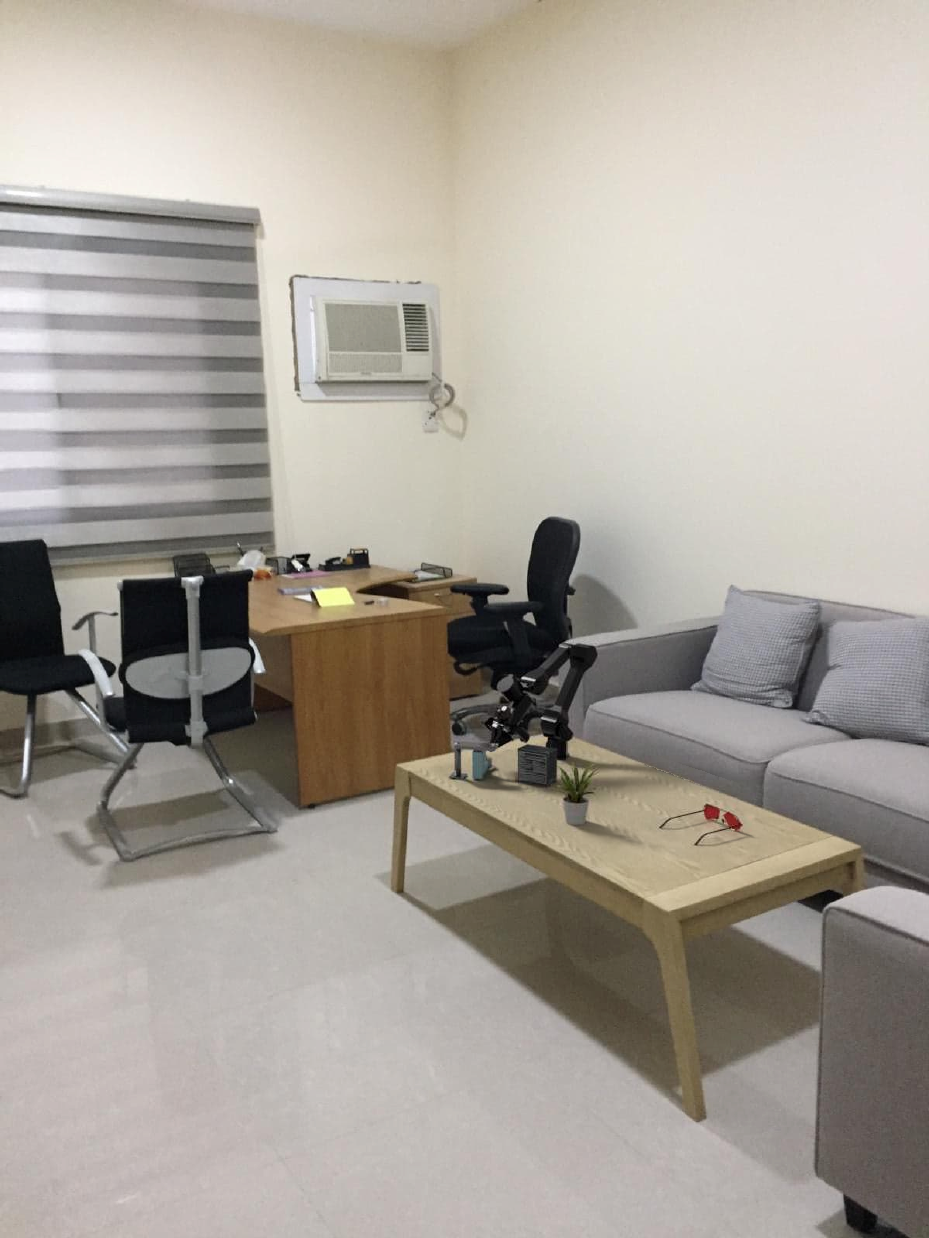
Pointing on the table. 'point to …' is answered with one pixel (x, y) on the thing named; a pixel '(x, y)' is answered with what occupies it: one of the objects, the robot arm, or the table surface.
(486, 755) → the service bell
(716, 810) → the glasses
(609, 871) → the table surface
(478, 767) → the link
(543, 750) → the small box
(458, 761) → the keeper
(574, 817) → the house plant
